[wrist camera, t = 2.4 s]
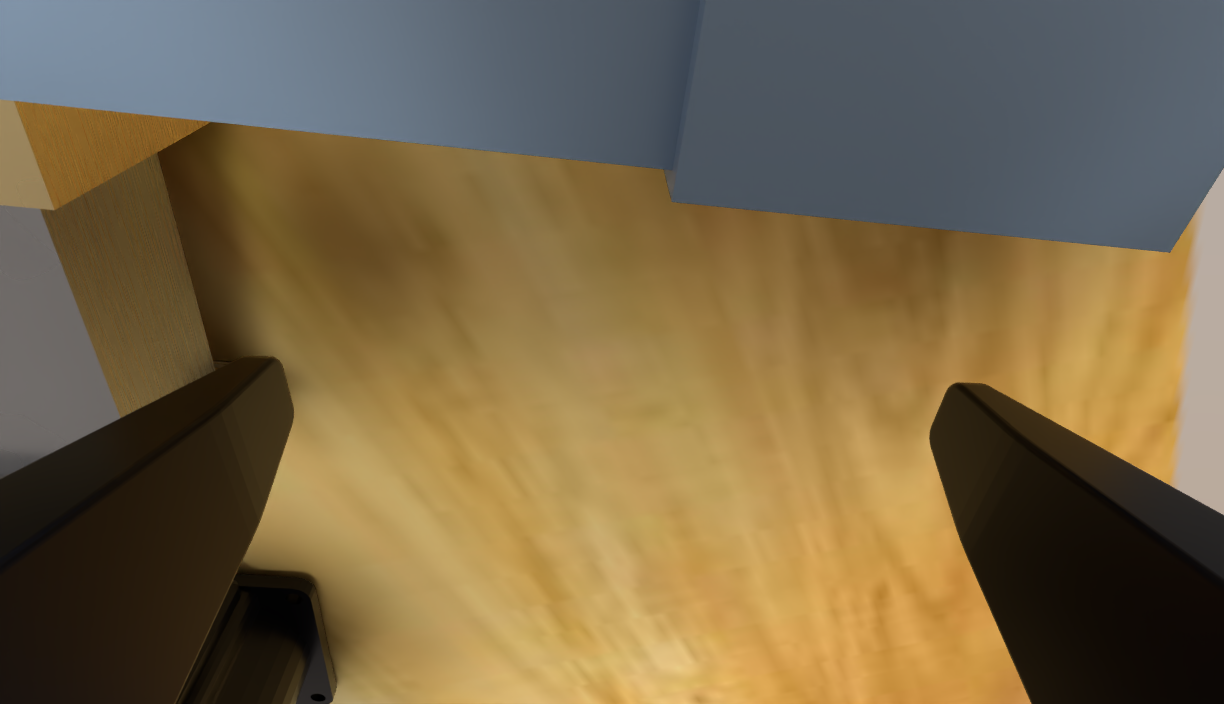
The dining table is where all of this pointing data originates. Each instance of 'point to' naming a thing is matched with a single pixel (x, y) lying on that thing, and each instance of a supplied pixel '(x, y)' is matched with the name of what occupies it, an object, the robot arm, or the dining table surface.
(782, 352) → the dining table surface
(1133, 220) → the lever
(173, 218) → the pipe valve
